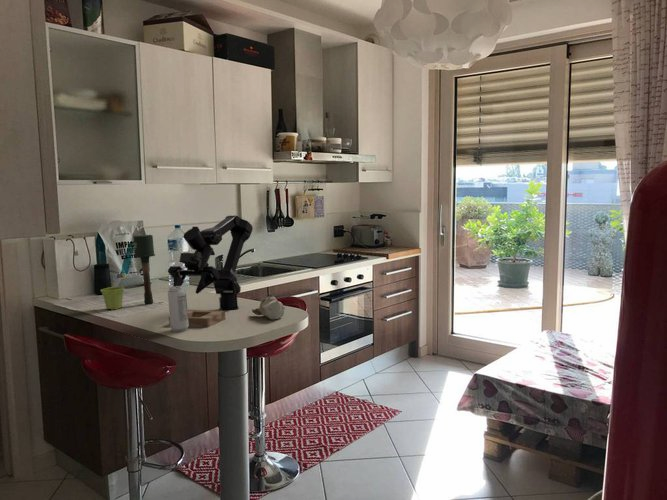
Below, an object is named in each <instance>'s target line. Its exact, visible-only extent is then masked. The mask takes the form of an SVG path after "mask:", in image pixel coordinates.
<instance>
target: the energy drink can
mask: <svg viewBox="0 0 667 500" xmlns="http://www.w3.org/2000/svg"><path fill="white" fill-rule="evenodd" d="M173 286H174V285H173ZM173 286H170V287H169V289H168V292H167V300H168V311H169V313H168V314H169V317H170V325H169V326H170V330H172V332H173V333H174V332H175V333H177V332H178V333H180V332H185V331H187V330H188V328H189V327H190V326H189V323H188V310H189V309H188V300H187V299H188V298H187V290H186V289H185V287H184V285H181V286H174V287H173Z"/></svg>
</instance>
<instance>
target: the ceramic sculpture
mask: <svg viewBox="0 0 667 500" xmlns="http://www.w3.org/2000/svg"><path fill="white" fill-rule="evenodd" d="M251 311H252V312H251V313H253V314H255V315H256V316H262V315H263V316H264V317H266V318H268V319H269V320H273V319H277V320H278V319H281V318H283V317H284V314H285V306H284V304H283V303H282V302H281V301H278V299H277V298H276V297H275V296H273V295H272V294H268V296H267V297H264V298H263V299H262V300H261V301H260V304H259V307H258V308H255V309H253V308H252V309H251ZM273 321H274V320H273Z"/></svg>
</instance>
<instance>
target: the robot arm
mask: <svg viewBox="0 0 667 500" xmlns="http://www.w3.org/2000/svg"><path fill="white" fill-rule="evenodd" d="M253 228H254V227H253V225H252V224H251V223H250V221H248V220H246V219H243V218H241V217H240V216H238V215H227V216H225V218H224V219H223V220H221V221H219V222H218V223H217V224H215V225H214V226H213V227H209V228H205V229H202V230H200V228H199V227H198V226H192V228H190V229H188V230H186V232H185V233H184V234H183V239H184V241H185V242H186V243H187V244H188V246H189V247H190V249H192V250H194V252H181V253H180V257H179V263H182V264H183V267H184V268H185V269H183V268H182V267H181V265H180V266H178V265H175V266H174V265H172V266H169V268H168V270H167V273H168V274H169V275H170V276H171V277H172V280H173V286H172V287H174V286H183V284H184V282H185V281H184V280H186V277H187V276H193V277H200V279H199V282H198V284H197V287H196V290H195V294H197V295H198V294H199V293H201V292H202V291H203V290H204V289H206V288H207V287H208V286H209V285H212V284H213V286H214V290H215V294H216V295H219V297H218V303H219V308H220V309H221V311H229V310H231V311H232V310H238V309H240V308H239V305H238V294H240V293H241V288H242V287H241V286H240V284H239V283H238V278H237V275H236V270H237V267H238V264H239V261H240V256H241V254H242V250H243V247H244V244H245V243H246V242H247V241H248V240H249V239H250V237H251V235H252V232H253ZM229 231H230V235H231V237H232V239H231V243H230V246H229V249H228V252H227V255H226V259H225V262H224V265H223V268H222V269H217V268H216V267H215V266H212V265H211V266H210V265H209V259H210V257H211V256H215V255H216V253H215V250H214V248H213V247H212V246H218V245H219V244H220V243H221V242H222V240H223V236H224V235H225V234H226V233H228V232H229Z"/></svg>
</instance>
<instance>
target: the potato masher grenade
mask: <svg viewBox="0 0 667 500" xmlns="http://www.w3.org/2000/svg"><path fill="white" fill-rule="evenodd" d="M133 247H134V258H137V259H138V258H140V263H141V270H142V278H143V289H144V294H143V297H144V299H143V300H144V301H143V302H144V305H146V304H149V305H153V302H154V299H153V294H152V287H151V286H152V285H151V276H150V275H151V274H150V272H151V270H150V258H151V257H155V256H156V253H155V246H154V236H153V234H143V235H134V236H133Z"/></svg>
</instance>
